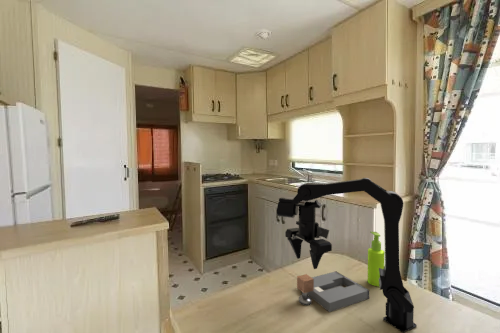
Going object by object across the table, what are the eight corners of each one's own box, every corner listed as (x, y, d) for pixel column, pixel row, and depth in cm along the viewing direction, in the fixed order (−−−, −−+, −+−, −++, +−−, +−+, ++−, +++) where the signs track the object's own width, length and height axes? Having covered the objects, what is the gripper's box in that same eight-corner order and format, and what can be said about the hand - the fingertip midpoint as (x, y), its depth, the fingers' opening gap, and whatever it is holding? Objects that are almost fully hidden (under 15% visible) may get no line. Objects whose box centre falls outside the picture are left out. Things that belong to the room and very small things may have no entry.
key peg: (314, 303, 83) (314, 279, 83) (303, 306, 81) (304, 282, 81) (306, 296, 87) (306, 273, 87) (296, 299, 85) (296, 276, 85)
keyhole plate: (336, 278, 101) (336, 271, 101) (369, 298, 86) (369, 290, 86) (299, 288, 93) (299, 280, 93) (329, 312, 79) (329, 303, 78)
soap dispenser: (379, 278, 101) (379, 230, 100) (386, 287, 94) (387, 236, 93) (364, 277, 101) (365, 230, 101) (370, 286, 95) (371, 235, 94)
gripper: (344, 223, 79) (344, 270, 80) (308, 211, 96) (308, 250, 97) (318, 227, 74) (317, 277, 75) (284, 214, 91) (284, 255, 92)
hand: (306, 263), depth 85 cm, fingers open, 9 cm apart
